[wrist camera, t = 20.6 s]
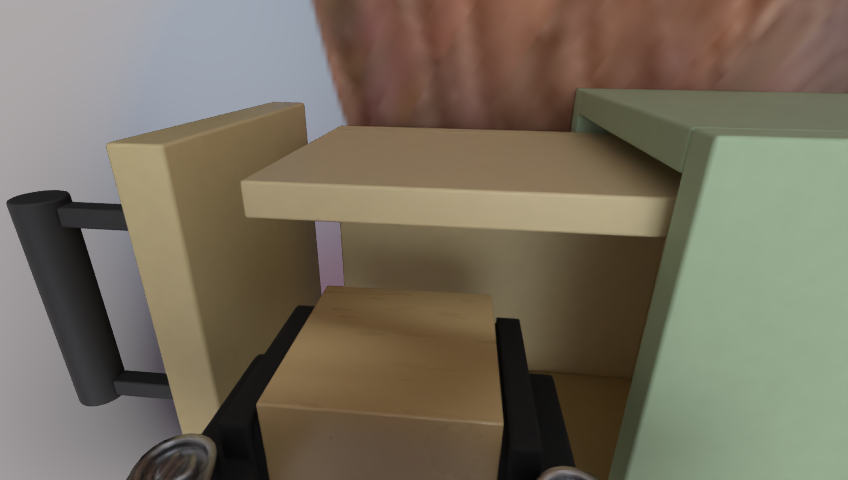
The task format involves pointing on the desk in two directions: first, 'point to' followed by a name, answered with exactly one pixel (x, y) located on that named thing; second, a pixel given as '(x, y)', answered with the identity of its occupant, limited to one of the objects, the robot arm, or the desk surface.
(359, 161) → the drawer
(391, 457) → the block
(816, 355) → the box
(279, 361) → the robot arm
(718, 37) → the desk surface
